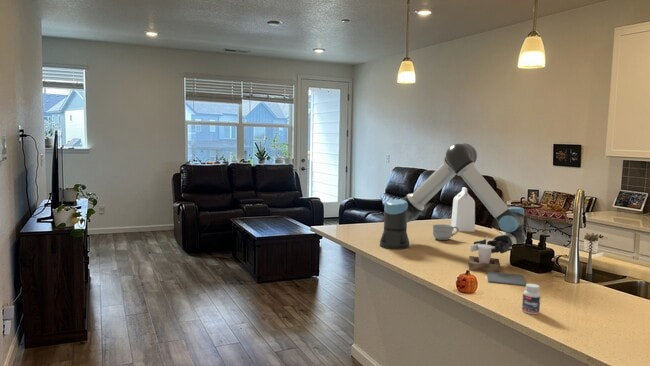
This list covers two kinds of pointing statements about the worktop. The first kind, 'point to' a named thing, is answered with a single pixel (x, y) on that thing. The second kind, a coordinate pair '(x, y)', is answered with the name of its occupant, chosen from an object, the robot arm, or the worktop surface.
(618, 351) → the worktop surface
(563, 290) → the worktop surface
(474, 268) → the wooden tray
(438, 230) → the teacup
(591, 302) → the worktop surface
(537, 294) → the pill bottle
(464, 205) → the milk
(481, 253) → the smoothie
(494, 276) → the mat
